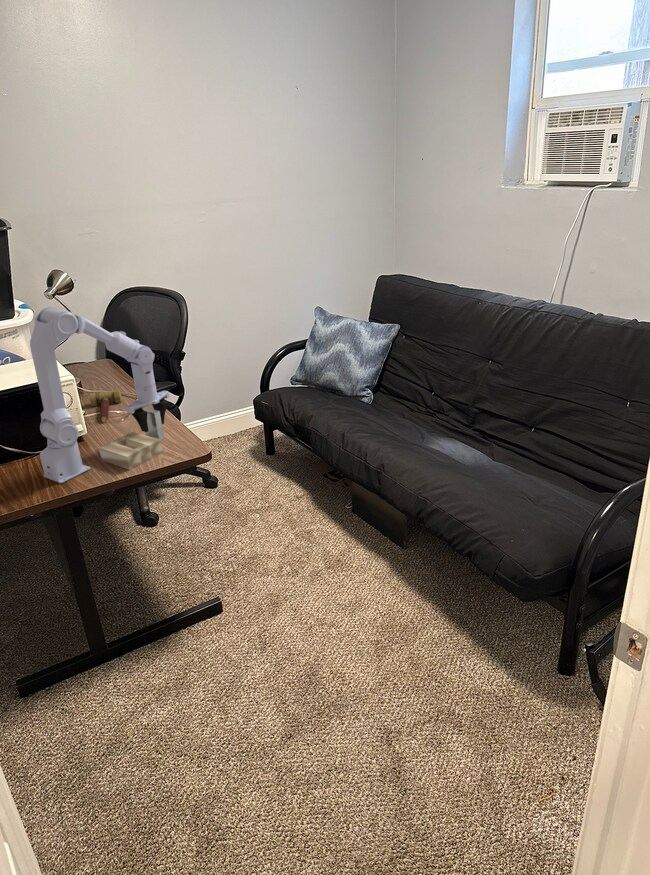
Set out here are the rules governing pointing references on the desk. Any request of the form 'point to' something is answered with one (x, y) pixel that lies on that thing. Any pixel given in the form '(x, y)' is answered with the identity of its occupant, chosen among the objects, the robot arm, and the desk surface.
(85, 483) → the desk surface
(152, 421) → the frosted upright panel
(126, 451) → the beige compartment tray
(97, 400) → the gavel
